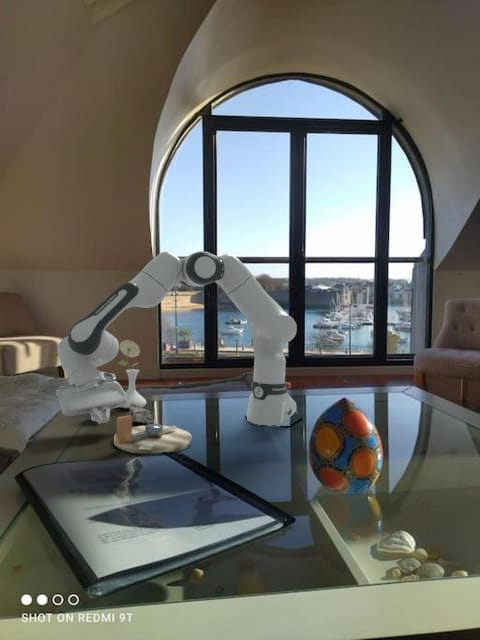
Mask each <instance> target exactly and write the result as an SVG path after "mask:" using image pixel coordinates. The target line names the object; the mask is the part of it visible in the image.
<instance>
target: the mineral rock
mask: <svg viewBox="0 0 480 640" xmlns="http://www.w3.org/2000/svg"><path fill="white" fill-rule="evenodd" d="M128 409H129V412H128V415H131V416H132V423H140V424H147V425H148V424H153V423H154V419H155V415H154V413H153V412H151V411H150V410H149V409H147V408H145V407H144V406H138V405H135V404H131V405H130V406H129V408H128Z"/></svg>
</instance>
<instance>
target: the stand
mask: <svg viewBox="0 0 480 640" xmlns="http://www.w3.org/2000/svg"><path fill="white" fill-rule="evenodd" d="M145 426H146V425H138V426H132V434H135V433H139V432H143V431H145ZM162 426H163V428H167V427H170V426H169V425H162ZM192 440H193V438H192V434H191V432H189V431H187V430H184V429H182V428H179V427H177V428H176V430H173V431H169V432H165V433H162V436H160V437H147V438H143V439H140V440H136V441H132V442H127V443H123V444H116V433H115V434H114V436H113V444H114V446H115V447H116V448H117V449H120V450H122V451H124V452H128V453H132V454H139V455H149V454H148V453H155V452H173V453H177V452H181V451H184V450H185V449H188V448H189V447H190V446H191V445H192Z"/></svg>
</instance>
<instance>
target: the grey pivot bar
mask: <svg viewBox="0 0 480 640" xmlns="http://www.w3.org/2000/svg"><path fill="white" fill-rule="evenodd" d="M144 426H145V431H143V432H139V433H135V434H132V427H133V422H132V416H131V415H129V414H126V415H123V416H118V417H116V433H115V434H116V444H123V443H127V442H132V441H136V440H140V439H143V438H147V437H160V436H162V433H165V432H169V431H173V430H176V428H178V426H176V425H172V426H169V427H167V428H163V426H164V425H162V424H159V423H149V424H148V423H147V424H146V425H144Z"/></svg>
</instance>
